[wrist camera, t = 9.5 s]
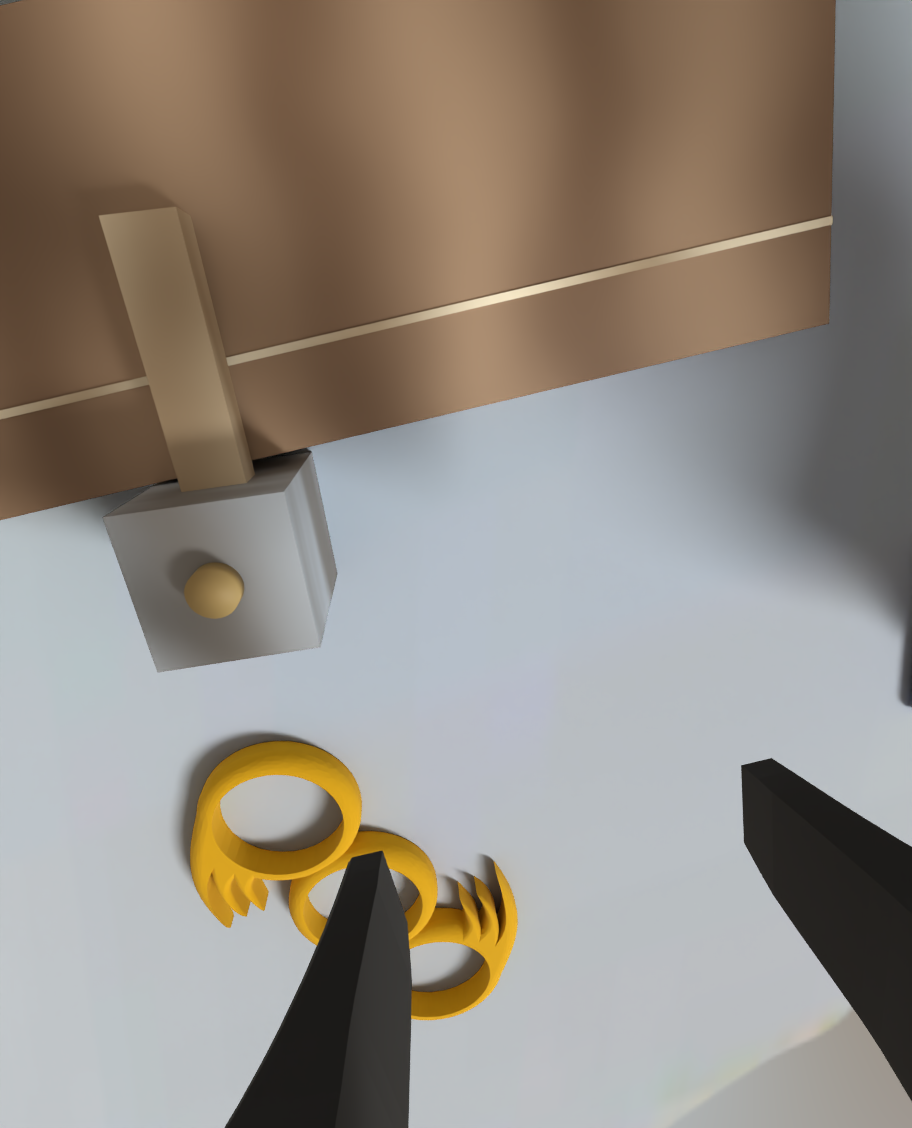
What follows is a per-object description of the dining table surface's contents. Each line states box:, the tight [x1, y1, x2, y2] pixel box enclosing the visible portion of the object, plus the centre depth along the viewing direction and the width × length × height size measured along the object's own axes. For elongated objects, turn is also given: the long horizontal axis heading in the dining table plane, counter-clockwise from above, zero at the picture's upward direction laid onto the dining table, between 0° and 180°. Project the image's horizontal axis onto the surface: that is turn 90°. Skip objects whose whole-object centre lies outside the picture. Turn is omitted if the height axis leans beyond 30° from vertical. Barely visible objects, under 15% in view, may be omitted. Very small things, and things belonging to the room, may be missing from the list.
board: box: [0, 0, 836, 520], centre depth 15 cm, size 24×10×2 cm, turn 102°
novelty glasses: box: [190, 741, 518, 1020], centre depth 24 cm, size 17×2×10 cm
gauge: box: [99, 207, 337, 672], centre depth 15 cm, size 4×10×6 cm, turn 7°
